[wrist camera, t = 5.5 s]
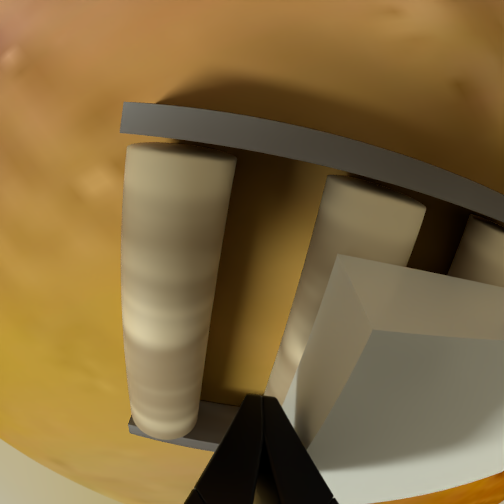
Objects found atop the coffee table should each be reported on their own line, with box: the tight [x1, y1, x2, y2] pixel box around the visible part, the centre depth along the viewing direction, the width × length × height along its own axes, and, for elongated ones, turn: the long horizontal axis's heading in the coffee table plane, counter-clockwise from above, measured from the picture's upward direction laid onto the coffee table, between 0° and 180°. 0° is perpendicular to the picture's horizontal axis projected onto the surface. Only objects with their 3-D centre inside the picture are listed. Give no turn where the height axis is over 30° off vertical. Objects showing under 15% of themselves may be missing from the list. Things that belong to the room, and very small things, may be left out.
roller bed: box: [120, 102, 504, 452], centre depth 11 cm, size 13×25×3 cm, turn 79°
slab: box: [282, 254, 504, 504], centre depth 8 cm, size 8×16×3 cm, turn 79°
